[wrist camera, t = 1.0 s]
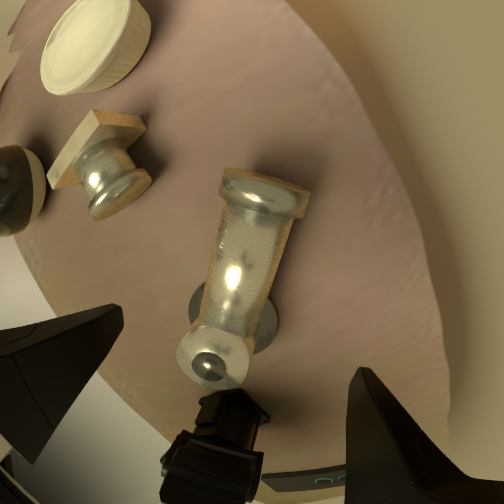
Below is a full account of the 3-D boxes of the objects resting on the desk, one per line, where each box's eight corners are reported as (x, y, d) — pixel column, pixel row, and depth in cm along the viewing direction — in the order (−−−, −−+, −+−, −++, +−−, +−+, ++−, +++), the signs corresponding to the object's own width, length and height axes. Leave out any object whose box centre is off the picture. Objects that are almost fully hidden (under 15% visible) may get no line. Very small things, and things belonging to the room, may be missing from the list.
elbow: (253, 351, 24) (236, 402, 18) (198, 331, 24) (169, 377, 18) (310, 188, 18) (312, 201, 12) (236, 166, 19) (204, 170, 13)
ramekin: (122, -7, 15) (92, -24, 10) (186, 21, 16) (157, -5, 11) (62, 74, 19) (28, 69, 14) (109, 119, 20) (69, 116, 15)
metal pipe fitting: (295, 333, 23) (289, 381, 17) (225, 361, 25) (206, 405, 20) (143, 112, 19) (96, 104, 13) (90, 171, 22) (43, 179, 16)
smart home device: (384, 477, 28) (277, 493, 35) (384, 469, 30) (278, 486, 36) (380, 462, 27) (259, 479, 33) (379, 453, 28) (260, 471, 34)
